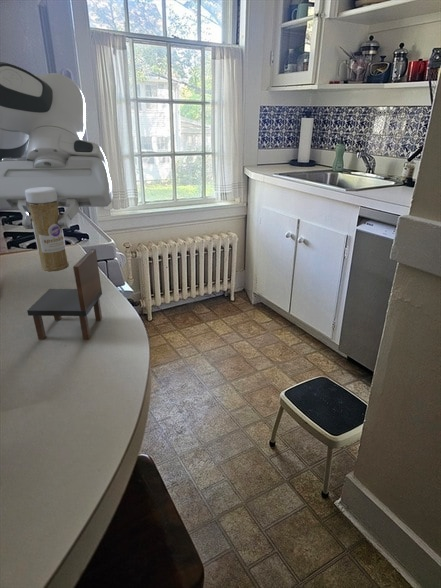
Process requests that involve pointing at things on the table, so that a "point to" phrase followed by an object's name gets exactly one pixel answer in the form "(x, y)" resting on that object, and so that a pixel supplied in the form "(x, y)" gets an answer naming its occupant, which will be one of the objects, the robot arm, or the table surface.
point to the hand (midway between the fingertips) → (46, 227)
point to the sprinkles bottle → (47, 228)
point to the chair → (72, 297)
